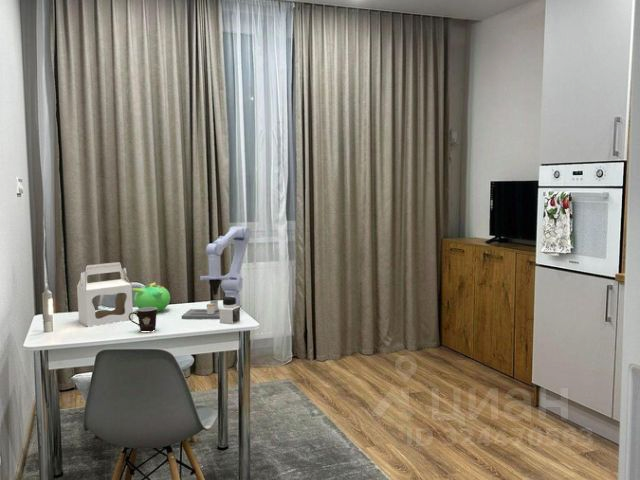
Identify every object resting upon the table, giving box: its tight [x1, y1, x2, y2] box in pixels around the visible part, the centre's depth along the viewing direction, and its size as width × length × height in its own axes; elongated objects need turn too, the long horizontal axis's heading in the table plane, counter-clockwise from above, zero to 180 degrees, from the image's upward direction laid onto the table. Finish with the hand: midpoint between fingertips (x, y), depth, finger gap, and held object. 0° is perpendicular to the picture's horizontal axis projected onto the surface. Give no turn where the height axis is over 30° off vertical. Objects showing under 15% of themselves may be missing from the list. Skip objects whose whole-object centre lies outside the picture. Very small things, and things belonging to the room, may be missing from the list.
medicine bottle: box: [219, 296, 241, 325], centre depth 276 cm, size 7×7×12 cm
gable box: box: [76, 261, 134, 327], centre depth 281 cm, size 22×13×28 cm, turn 129°
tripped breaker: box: [206, 303, 215, 314], centre depth 286 cm, size 3×3×5 cm
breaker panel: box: [181, 308, 220, 320], centre depth 290 cm, size 15×19×2 cm
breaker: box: [209, 300, 219, 311], centre depth 293 cm, size 3×3×5 cm
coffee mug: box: [129, 307, 158, 332], centre depth 262 cm, size 12×9×10 cm
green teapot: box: [132, 282, 171, 312], centre depth 299 cm, size 18×17×15 cm
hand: (215, 294), depth 290 cm, fingers closed
